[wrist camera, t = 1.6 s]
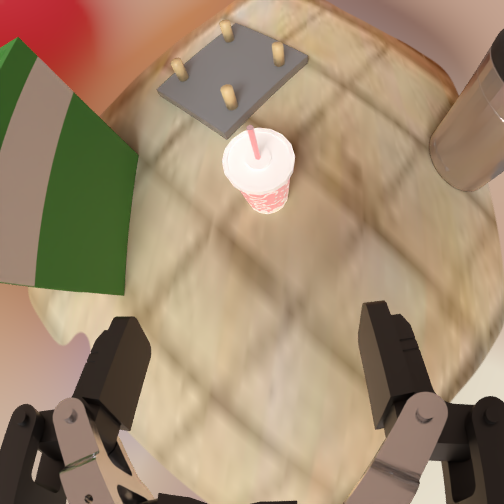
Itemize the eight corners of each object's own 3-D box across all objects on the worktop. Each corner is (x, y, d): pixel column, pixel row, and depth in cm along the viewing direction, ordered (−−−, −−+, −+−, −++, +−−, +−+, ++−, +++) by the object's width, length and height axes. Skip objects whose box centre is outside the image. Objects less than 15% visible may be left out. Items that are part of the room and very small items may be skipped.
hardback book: (124, 295, 35) (-57, 272, 12) (76, 291, 36) (-89, 268, 13) (138, 155, 38) (18, 37, 14) (93, 162, 39) (-30, 69, 15)
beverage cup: (231, 210, 35) (193, 153, 21) (251, 162, 36) (227, 87, 22) (284, 228, 34) (276, 178, 20) (302, 178, 34) (305, 105, 21)
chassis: (237, 29, 40) (231, 6, 35) (307, 62, 37) (307, 37, 32) (160, 95, 39) (146, 74, 34) (227, 139, 36) (217, 117, 32)
